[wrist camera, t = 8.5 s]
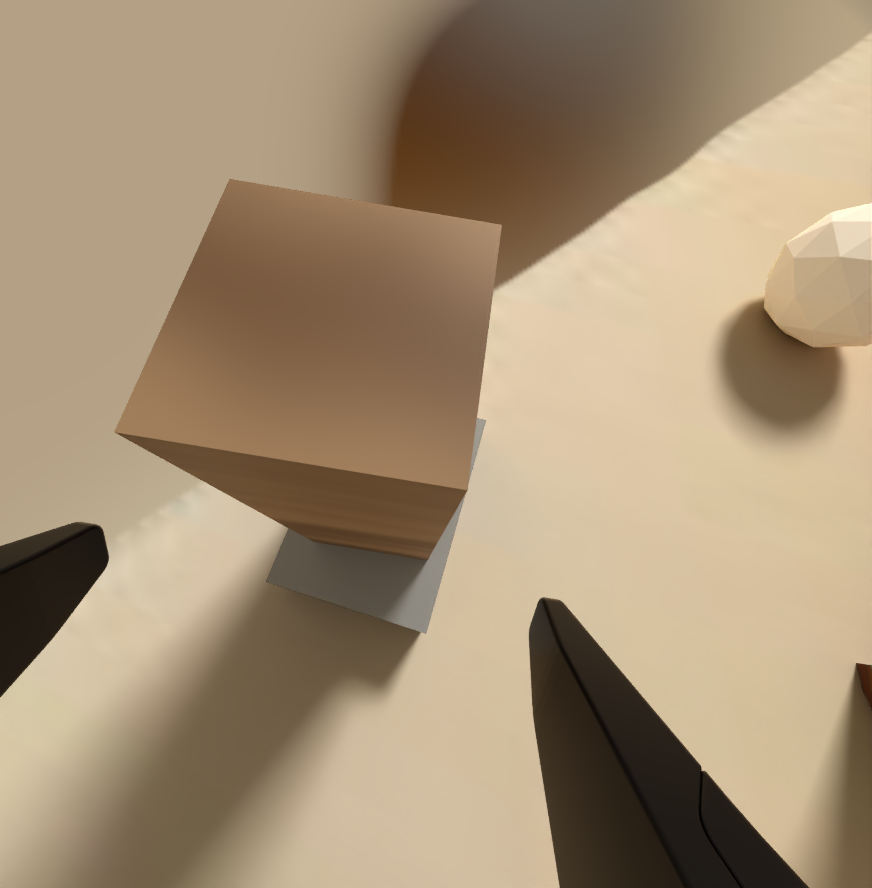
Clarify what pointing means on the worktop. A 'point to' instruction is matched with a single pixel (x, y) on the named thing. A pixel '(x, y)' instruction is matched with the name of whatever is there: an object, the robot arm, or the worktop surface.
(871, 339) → the ball
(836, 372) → the worktop surface
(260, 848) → the worktop surface
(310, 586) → the grey base plate
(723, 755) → the worktop surface
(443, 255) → the walnut block
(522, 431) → the worktop surface
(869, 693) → the food container
